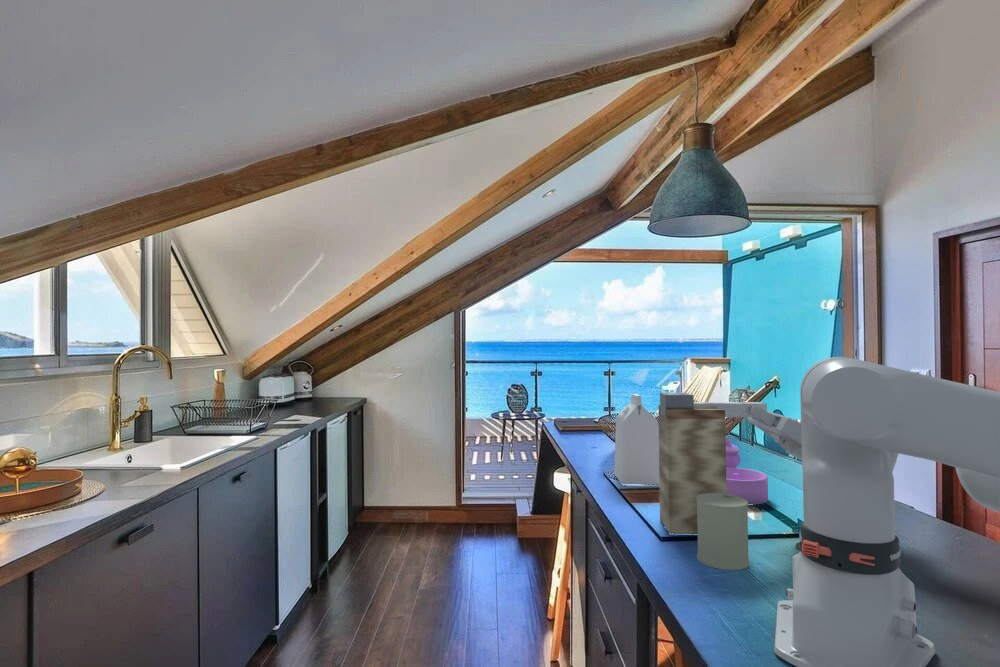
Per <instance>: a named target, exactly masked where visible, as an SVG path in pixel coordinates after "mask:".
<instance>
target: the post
mask: <svg viewBox="0 0 1000 667" xmlns="http://www.w3.org/2000/svg"><path fill="white" fill-rule="evenodd" d="M658 425H659V482H660V486H659V521H660V520H661V521H660V523H661V524H662V523H663V524H664V526H665V527H666V529H667V530H668V532H669V533H671V534H672V533H673V534H692V535H693V534H698V526H697V499H696V497H697V496H698V495H700V494H705V493H723V494H727V485H726V439H727V437H726V436H727V434H726V417H725V410H724V409H666V417H664V416H662V415H661V414H660V404H658ZM663 524H662V525H663ZM664 526H663V527H664ZM665 527H664V528H665ZM666 529H665V530H666ZM667 530H666V531H667ZM668 532H667V533H668ZM669 533H668V534H669Z"/></svg>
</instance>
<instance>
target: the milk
mask: <svg viewBox="0 0 1000 667" xmlns="http://www.w3.org/2000/svg"><path fill="white" fill-rule="evenodd" d="M614 436H615V439H614V440H615V441H614V474H613V475H615V476H616V477H617V478H618V479H619V480H620V482H621V483H622V484H660V482H659V421H658V420H657V418H656V417H654V415H652V414H651V412H649V410H647V408H645V407H644V405H643V403H642V395H640V394H637V393H632V394H631V400H630V403H629V404H627V405H625V406H624V407H623V408H622V409H621V411H620V412H619V413H618V415H617V416H616V418H615V435H614ZM615 476H614V477H615ZM616 477H615V478H616ZM620 482H619V483H620Z"/></svg>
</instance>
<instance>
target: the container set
mask: <svg viewBox="0 0 1000 667" xmlns="http://www.w3.org/2000/svg"><path fill="white" fill-rule="evenodd" d="M731 440H732V439H730V438H729V439H727V438H726V485H727V494H730V495H735V496H738V497H741V498H744V499H745V500H747V501H748V504H761V503H765V502H767V501H768V502H769V477H768V474H766V473H764V472H763V471H762V472H761V471H758V470H754V469H750V468H741V467H737V466H739V465H740V464H741V457H740V455H739V453H740V449H739V447H738V446H737V445H735V444H733V443H732V441H731ZM768 502H767V503H768Z"/></svg>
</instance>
